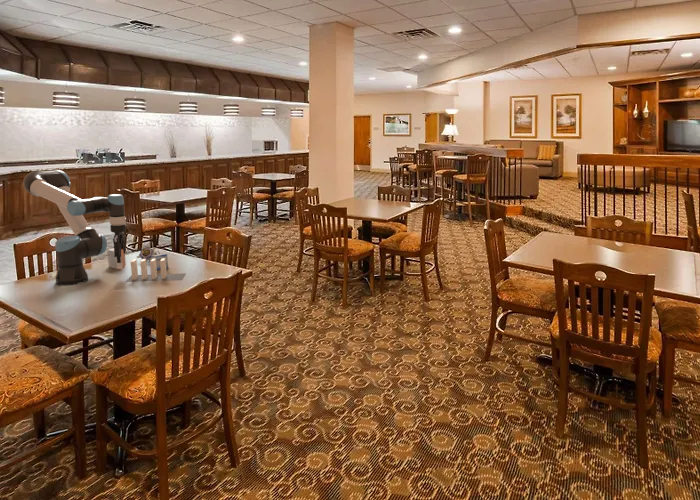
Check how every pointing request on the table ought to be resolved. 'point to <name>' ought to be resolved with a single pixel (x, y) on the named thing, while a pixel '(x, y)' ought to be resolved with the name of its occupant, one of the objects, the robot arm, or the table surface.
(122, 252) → the terracotta domino
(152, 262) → the domino
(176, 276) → the domino mat
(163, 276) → the domino
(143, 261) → the domino
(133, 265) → the domino
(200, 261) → the table surface
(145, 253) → the passion flower
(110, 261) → the small box
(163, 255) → the medicine box
